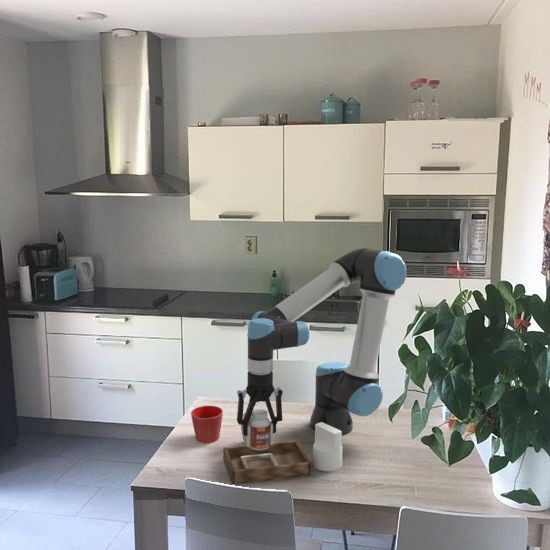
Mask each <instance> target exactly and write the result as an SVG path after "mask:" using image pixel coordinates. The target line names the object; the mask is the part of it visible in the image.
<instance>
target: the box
mask: <svg viewBox="0 0 550 550" xmlns="http://www.w3.org/2000/svg"><path fill="white" fill-rule="evenodd" d="M222 457H223V459H222V460H223V462H224V465H225V469H226V471H227V475H228V478H229V480H230V484H231V485H232V484H235V485H242V484H250V483H259V482H260V483H261V482H269V481H278V480H287V479H288V480H289V479H294V478H295V479H297V478H306V477H311V476H312V465H313V462H312V461H310V459H309V457H308V455H307V453H306V452H305V451H304V449H303V447H302V446H301V444H300V442H299V441H298V440H285V441H277V442H274V441H273V445H270V444H269V448H267V449H266V450H262V451H258V450H253V449H251V448H250V447H248V446H247V445H245V444H244V445H235V446H226V447H225V446H224V447H223V449H222Z"/></svg>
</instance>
